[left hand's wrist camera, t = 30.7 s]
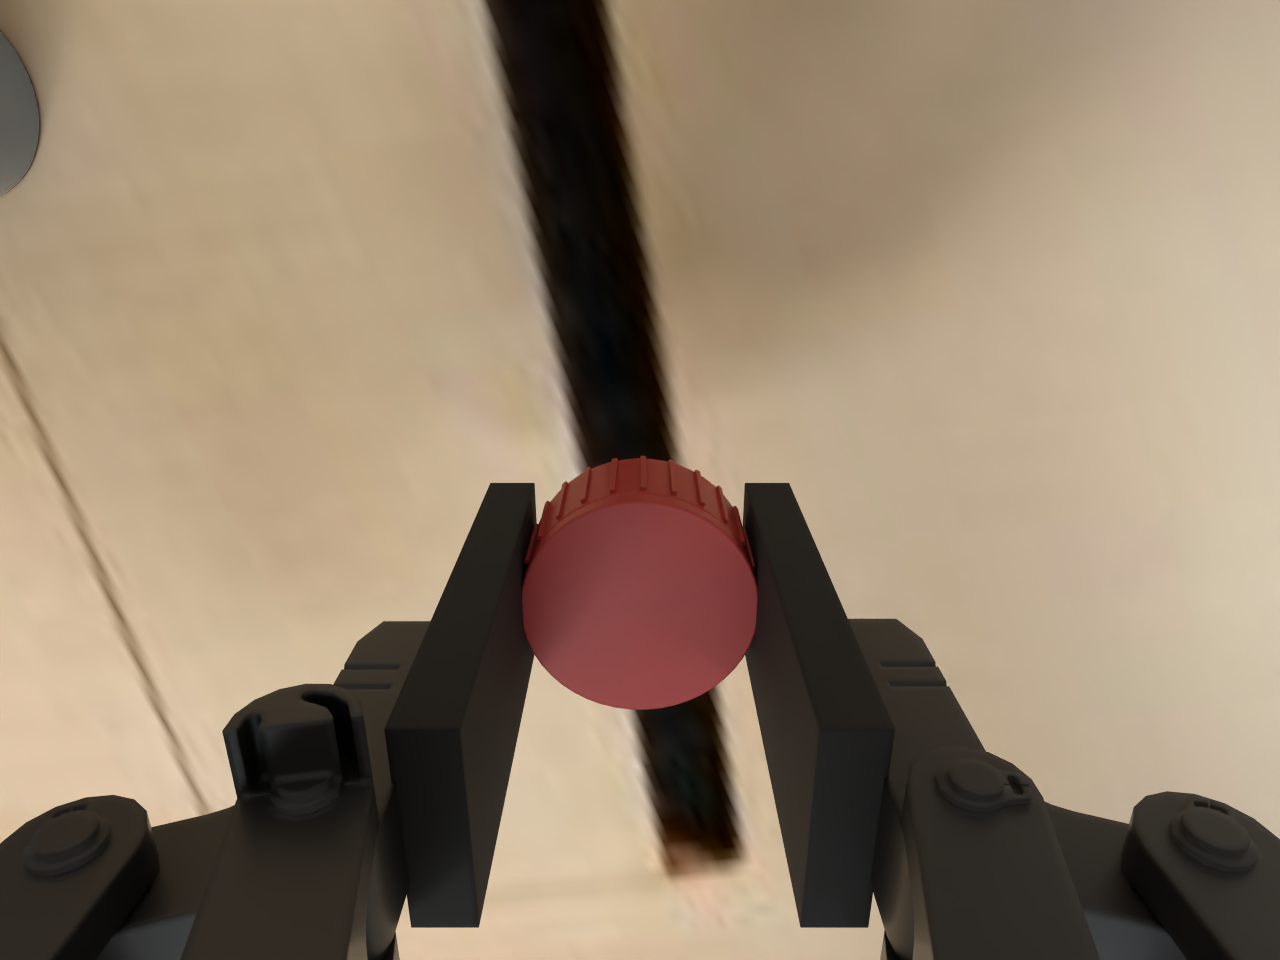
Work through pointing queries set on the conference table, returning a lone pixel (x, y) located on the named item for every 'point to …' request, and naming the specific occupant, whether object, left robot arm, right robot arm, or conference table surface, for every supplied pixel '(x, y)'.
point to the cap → (639, 585)
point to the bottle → (15, 118)
